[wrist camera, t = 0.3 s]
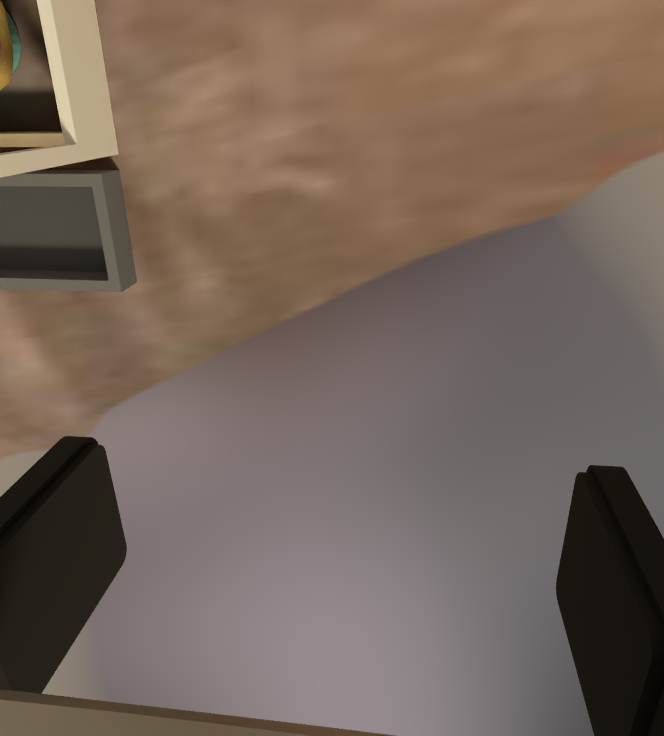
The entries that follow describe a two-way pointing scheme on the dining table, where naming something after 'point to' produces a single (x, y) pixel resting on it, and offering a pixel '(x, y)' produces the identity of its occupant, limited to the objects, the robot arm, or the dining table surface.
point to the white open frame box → (72, 90)
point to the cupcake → (8, 47)
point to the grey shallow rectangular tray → (64, 232)
